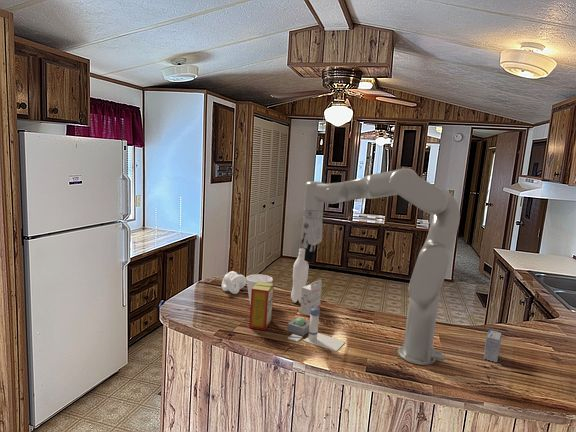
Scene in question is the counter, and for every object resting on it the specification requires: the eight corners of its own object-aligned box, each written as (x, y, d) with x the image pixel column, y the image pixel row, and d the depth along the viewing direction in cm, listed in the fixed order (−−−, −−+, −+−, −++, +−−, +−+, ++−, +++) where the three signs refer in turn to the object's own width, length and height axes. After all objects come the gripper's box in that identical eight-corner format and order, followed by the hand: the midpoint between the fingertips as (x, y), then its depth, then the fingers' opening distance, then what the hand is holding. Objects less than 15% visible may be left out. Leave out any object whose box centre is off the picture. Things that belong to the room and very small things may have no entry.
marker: (318, 339, 147) (321, 309, 146) (314, 342, 144) (317, 311, 143) (310, 336, 149) (313, 306, 147) (306, 340, 146) (309, 309, 144)
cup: (270, 311, 171) (272, 283, 169) (242, 309, 171) (244, 281, 169) (271, 301, 183) (273, 275, 181) (246, 299, 183) (247, 273, 181)
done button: (305, 329, 155) (305, 319, 154) (301, 332, 152) (301, 322, 151) (297, 326, 157) (298, 317, 156) (293, 329, 154) (294, 319, 153)
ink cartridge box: (310, 307, 178) (313, 276, 176) (319, 311, 176) (322, 279, 173) (299, 313, 172) (302, 280, 170) (308, 316, 169) (311, 283, 167)
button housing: (311, 329, 156) (311, 322, 155) (303, 336, 150) (303, 328, 149) (295, 324, 159) (296, 317, 159) (286, 331, 153) (287, 323, 153)
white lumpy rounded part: (214, 290, 192) (215, 272, 190) (232, 285, 201) (233, 268, 200) (229, 296, 185) (230, 278, 183) (248, 291, 194) (249, 273, 192)
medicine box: (496, 363, 140) (500, 340, 138) (482, 359, 142) (486, 336, 141) (498, 355, 146) (502, 332, 145) (485, 351, 149) (488, 329, 147)
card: (302, 337, 148) (302, 336, 148) (297, 341, 145) (297, 340, 144) (292, 334, 150) (292, 333, 150) (287, 338, 147) (287, 337, 146)
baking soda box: (265, 330, 152) (268, 290, 150) (249, 327, 154) (251, 287, 151) (271, 320, 162) (274, 282, 159) (255, 318, 163) (258, 280, 160)
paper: (345, 342, 147) (345, 341, 147) (336, 351, 139) (336, 350, 139) (314, 332, 153) (314, 331, 153) (303, 341, 146) (303, 340, 146)
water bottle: (309, 302, 186) (313, 249, 182) (298, 305, 180) (303, 251, 177) (297, 297, 190) (301, 246, 187) (287, 300, 185) (291, 248, 181)
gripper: (313, 217, 142) (309, 267, 145) (329, 213, 155) (325, 259, 158) (294, 214, 146) (291, 263, 149) (312, 211, 159) (308, 255, 162)
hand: (308, 261), depth 153 cm, fingers closed
